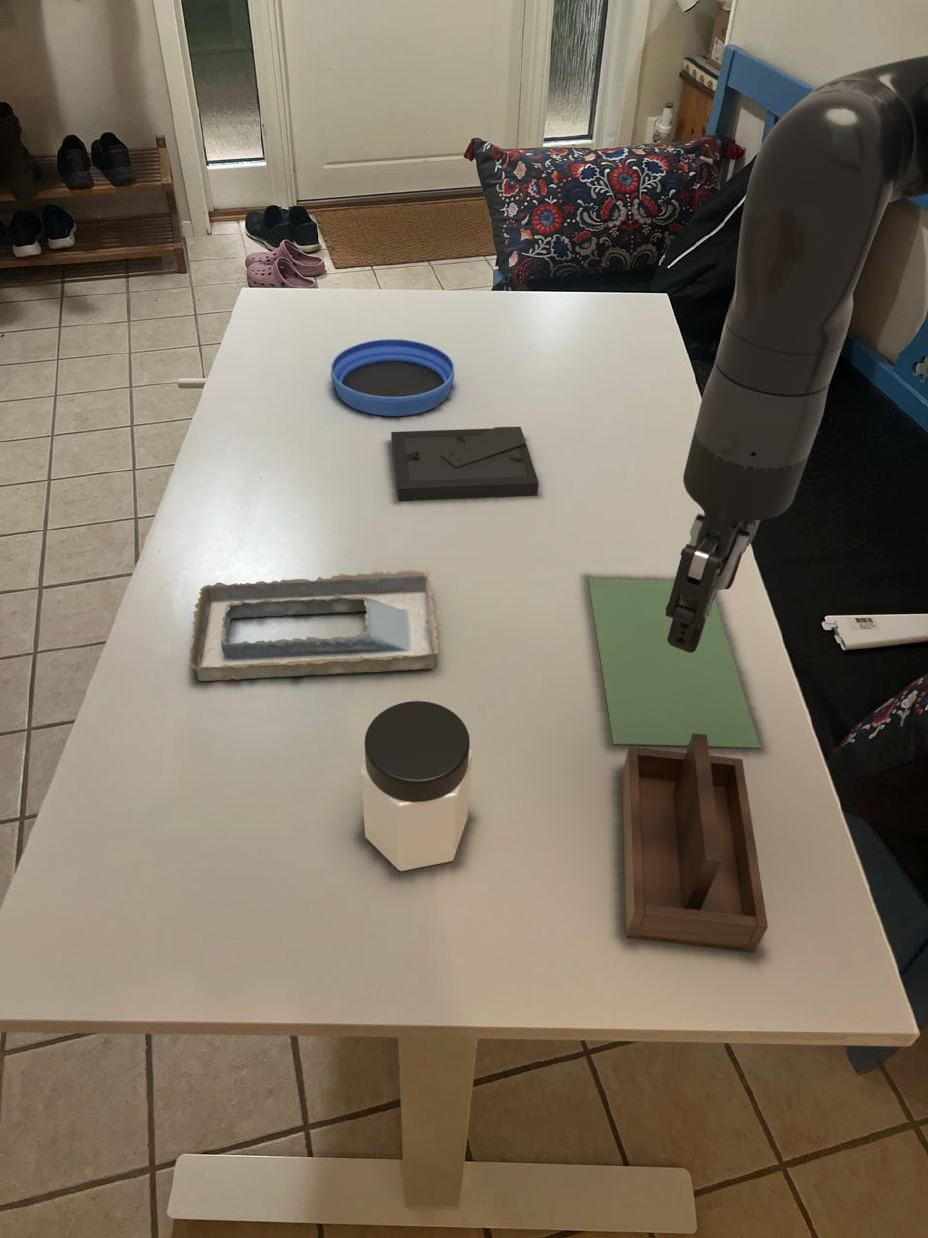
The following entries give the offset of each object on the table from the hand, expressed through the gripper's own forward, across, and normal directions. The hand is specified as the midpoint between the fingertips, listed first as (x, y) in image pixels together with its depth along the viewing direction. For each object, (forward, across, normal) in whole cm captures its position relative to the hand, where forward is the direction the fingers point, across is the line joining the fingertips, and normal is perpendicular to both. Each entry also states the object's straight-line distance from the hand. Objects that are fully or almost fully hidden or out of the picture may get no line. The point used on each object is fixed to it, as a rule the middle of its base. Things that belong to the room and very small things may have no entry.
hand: (700, 613), depth 69 cm
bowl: (+19, +45, +59) cm, 77 cm away
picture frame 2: (+19, +32, +40) cm, 55 cm away
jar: (+19, -17, +15) cm, 30 cm away
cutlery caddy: (+19, -8, -6) cm, 21 cm away
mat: (+19, +14, +4) cm, 24 cm away
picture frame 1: (+19, -3, +37) cm, 42 cm away
